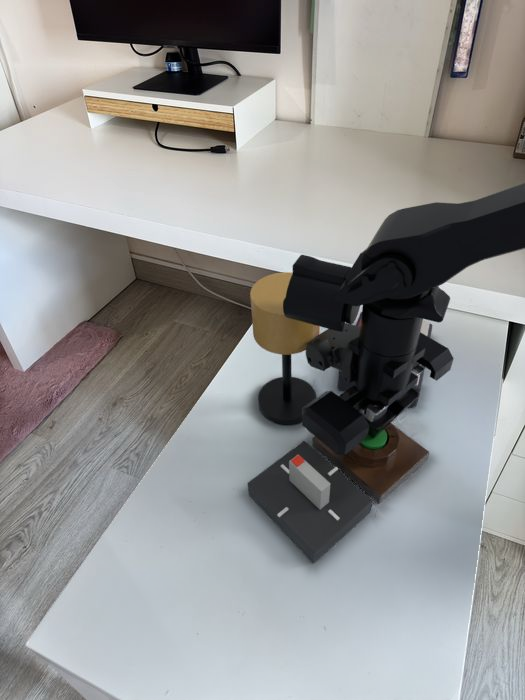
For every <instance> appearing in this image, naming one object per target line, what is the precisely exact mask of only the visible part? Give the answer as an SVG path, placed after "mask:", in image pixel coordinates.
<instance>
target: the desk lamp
mask: <svg viewBox="0 0 525 700" xmlns="http://www.w3.org/2000/svg"><path fill="white" fill-rule="evenodd" d="M292 274H293V272H292V271H289V272H288V271H287V272H285V271H283V272H276V273H272V274H268V275H266V276H263V277H262V278H260V279H258V280H257V281H256V282H255V283H254V284H253V285H252V287H251V289H250V293H249V299H250V309H251V311H250V312H251V323H252V324H251V325H252V336H253V340H254V341H255V342H256V343H257V345H258V346H259V347H260V348H261V349H263V350H265V351H267V352H269V353H272V354H276V355H281V374H282V376H280V377H277V378H273V379H271V380H269V381H268V382H266V383H265V384H264V385H263V386H262V387H261V388H260V390H259V393H258V395H257V401H258V403H257V404H258V408H259V411H260V414H261V415H262V416H263V417H264V418H265V419H266V420H267V421H268V422H270V423H273V424H275V425H278V426H287V427H288V426H296V425H299V424H302V408H303V407H304V406H306V405H307V404H309V403H310V402H311V401H313V400H314V399H316V398H317V397H318V396H317V393H316V391H315V389H314V387H313V386H312V385H311V384H310V382H307V381H306V380H304V379H302V378H299V377H295V376H292V375H293V373H292V355H295V354H299V353H303V352H306V347H307V343H308V342H310V341H311V340H313V339H314V338H315V337H316V336H318V335H319V334H320V331H321V329H320V328H321V327H320V326H316V325H313V324H309V323H305V322H301V321H298V320H294V319H290V318H286V316H285V315H284V312H283V301H284V299H285V297H286V292H287V288H288V285H289V281H290V279H291V276H292Z"/></svg>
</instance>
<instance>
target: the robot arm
mask: <svg viewBox="0 0 525 700" xmlns="http://www.w3.org/2000/svg"><path fill="white" fill-rule="evenodd" d="M522 250H525V182H524V183H521V184H518V185H514V186H512V187H510V188H506V189H504V190H501V191H498V192H495V193H492V194H490V195H486V196H483V197H481V198H477V199H475V200H470V201H466V202H460V203H459V202H458V203H455V202H430V203H427V204H426V203H425V204H420V205H415V206H409V207H404V208H401V209H397V210H396V211H394V212H391V213H390V214H389V215H387V217H386V218H385V219H384V220H383V221H382V223H381V225H380V226H379V228H378V230H377V231H376V233H375V234H374V236H373V238H372V240H370V243H368V246H367V248H365V249H364V250H363V251H362V252H360V253H359V255H358V256H357V258H356V260H355V261H354V263H353V264H352V266H348V265H343V264H339V263H335V262H329V261H326V260H321V259H318V258H316V257H313V256H311V255H305V254H300V255H299V257H298V258H297V259H296V260H295V262H294V263H293V264H292V273H293V274H292V276H291V279H290V281H289V285H288V288H287V292H286V297H285V299H284V301H283V312H284V315H285V316H286V318H290V319H294V320H298V321H301V322H305V323H309V324H313V325H316V326H320V328H324V329H325V330H324V331H322V332H321V333H319V335H318V336H316V337H315V338H314V339H313V340H311V341H310V342H308V343H307V347H306V350H305V358H306V361H307V364H308V365H309V366H310V368H311V367H312V368H314V369H316V370H319V371H322V372H324V371H326V370H328V369H329V368H333V369H336V370H338V371H339V370H342V375H341V378H342V379H344V380H345V381H347V382H348V383H351V382H352V381H353V382H354V383H355V384H356V385H353V386H352V387H350V388H349V389H348V390H346V391H343V392H342V393H341V394H340V395H338V394H337V393H336V392H334V391H333V390H327V391H324V392H323V393H321V394H320V395H318V396H316V397H317V398H316V399H314V400H313V401H311V402H310V403H309V404H307V405H306V406H304V407H303V408H302V423H301V426H302V427H303V428H304V429H306V430H307V431H308V432H309V433H311V435H313V437H317V438H318V439H319V440H320V441H321V442H322V443H324V444H325V445H326V446H327V447H328V448H330V449H331V450H332V451H333V452H334V453H335V454H337V455H346V454H347V453H348V452H349V451H351V450H352V449H353V448H354V447H356V446H357V445H358V444H359V443H361V442H362V441H363V439H364V438H365V436H366V435H367V434H368V435H369V436H370V437H372V438H373V439H374V438H375V437H376V436H378V435H379V434H380V433H381V432H382V431H383V430H384V429H385V428H386V427H387V426H388V425H389V424H390V423H391V424H392V423H393V422H394V421H395V420H396V419H397V418H398V417H399V416H400V415H401V414H402V413H403V412H405V410H406V409H407V408H408V407H411V406H410V405H411V404H412V403H413V402H414V401H415V400H416V399H417V398H418V397H419V398H420V394H418V392H417V391H415V390H414V389H412V387H413V386H414V385H416V384H417V381H418V375H420V374H421V373H422V372H423V371H424V372H425V369H424V368H423V367H421V366H419V365H420V364H421V365H423V366H424V367H425V368H426V369H428V370H429V371H430V374H429V378H431V379H433V380H434V381H439V380H440V379H441V378H442V377H443V376H445V375H446V374H447V373H449V372H450V371H451V369H452V365H453V363H454V359H455V358H454V356H453V354H452V353H451V351H450V348H449V347H446V346H445V345H444V344H442V343H440V342H438V341H436V339H435V340H434V339H433V338H432V337H430V338H429V337H428V336H426V335H424V334H423V333H421V332H420V331H421V326H422V321H424V320H425V321H426V320H427V321H429V322H430V321H431V322H435V323H442V322H443V321H444V319H445V316H446V313H447V311H448V307H449V305H450V301H451V297H450V295H449V294H448V293H447V292H446V291H445V290H443V289H442V288H440V287H439V286H442V285H444V284H445V283H447V282H448V281H449V280H451V279H453V278H454V277H456V276H457V275H458V274H460V273H461V272H463V271H464V270H466V269H467V268H469V267H471V266H473V265H475V264H477V263H480V262H482V261H485V260H488V259H492V258H495V257H500V256H503V255H507V254H511V253H515V252H518V251H522ZM361 306H362V308H361ZM360 308H361V312H362V316H361V325H360V326H356V324H354V323H355V321H356V320H357V318H358V315H359V312H360ZM419 398H418V399H419Z"/></svg>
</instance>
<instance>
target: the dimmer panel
mask: <svg viewBox="0 0 525 700" xmlns="http://www.w3.org/2000/svg"><path fill="white" fill-rule="evenodd" d="M317 451H318V450H315V448H314V447H313V446H311V445H310V444H308V443H307V442H306V441H305V440H303V441H301V442H299V444H297V445H296V446H295V447H293V448H292V449H291V450H289V451H288V452H287V453H285V454H284V455H283V456H282V457H280V458H279V459H277V460H276V461H274V462H273V463H272V464H270V465H269V466H268V467H267V468H266V469H263V471H261V472H260V473H259V474H257V475H256V476H255V477H253V478H252V479H250V480H249V481H248V482H247V483H246V484H247V492H248V496H249V497H251V499H252V500H253V501H254V502H255V503H256V504H257V505H258V506H259V507H260V508H261V509H262V510H263V511H264V513H265V514H267V516H268V517H269V518H270V519H271V520H272V521H273V522H274V524H276V526H278V528H280V530H282V531H283V533H284V534H285V535H286V536H287V537H288V538H289V539H290V540H291V541H292V542H293V544H295V545H296V546H297V548H298V549H299V550H301V552H302V553H303V554H304V555H305V556H306V557H307V558H308V559H309V560H310V561H311V563H313V564H316V562H317V561H318V560H319V559H320V558H322V557H323V556H324V555H325V554H326V553H327V552H328V551H329V550H331V549H332V548H333V547H334V546H335V545H336V544H337V543H338V542H339V541H341V539H343V538H344V537H345V536H346V535H347V534H348V533H349V532H350V531H351V530H353V528H355V527H357V525H358V524H359V523H360V522H362V520H363V519H365V517H367V516H368V515H369V514H370V513H371V512H372V507H373V502H374V501H373V500H374V499H373V498H370V496H369V495H368V494H367V493H366V492H365V491H363V490H362V489H361V488H360V487H359V486H358V485H356V484H354V482H353V481H352V480H351V479H350V478H348V477H347V476H346V475H345V474H344V473H343V472H342V471H340V470H339V468H337V467H336V466H335V465H334V464H332V463H331V462H330V461H329V460H328V459H327V458H326V457H324V456H323V455H322V454H321V453H320V452H319V451H318V452H317ZM297 455H299V456H301V457H302V458H303V459H304V460H305V461H306V462H307V463H308V464H309V465H311V466H312V467H313V468H314V469H315V470H316V471H317V472H318V473H319V474H321V475H322V476H323V477H324V478H325V479H326V480H327V481H328V482H329V483H330V495H329V503H328V504H326V505H325V506H324V507H323V508H322V509H321V510H320V509H319V508H318V507H317V506H316V505H314V504H313V503H312V502H311V501H310V500H309V499H308V498H307V497H306V496H305V495H304V494H303V493H302V492H301V491H300V490H299V489H298V488H297V487H296V486H295V485H294V484H293V483H292V482H291V481H290V480H289V461H290V460H291V459H293V458H294V457H295V456H297Z"/></svg>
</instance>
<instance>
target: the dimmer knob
mask: <svg viewBox="0 0 525 700" xmlns="http://www.w3.org/2000/svg"><path fill="white" fill-rule="evenodd" d="M289 480H290V481H291V482H292V483H293V484H294V485H295V486H296V487H297V488H298V489H299V490H300V491H301V492H302V493H303V494H304V495H305V496H306V497H307V498H308V499H309V500H310V501H311V502H312V503H313V504H314V505H316V506H317V507H318V508H319V509H320V510H321V509H322V508H323V507H324V506H325V505H326V504H328V503H329V495H330V483H329V482H328V481H327V480H326V479H325V478H324V477H323V476H322V475H321V474H319V473H318V472H317V471H316V470H315V469H314V468H313V467H312V466H311V465H309V464H308V463H307V462H306V461H305V460H304V459H303V458H302V457H301V456H299V455H297V456H295V457H294V458H293V459H291V460H290V461H289Z"/></svg>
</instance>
